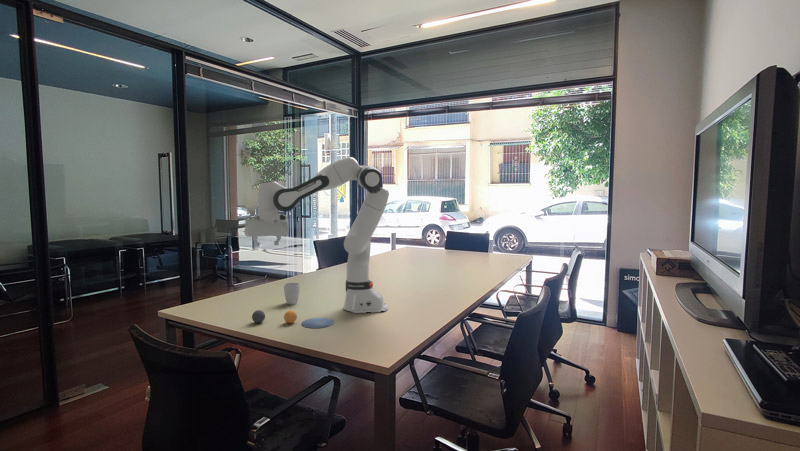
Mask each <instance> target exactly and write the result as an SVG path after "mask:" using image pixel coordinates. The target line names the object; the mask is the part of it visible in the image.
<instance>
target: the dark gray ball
mask: <svg viewBox="0 0 800 451" xmlns="http://www.w3.org/2000/svg"><path fill="white" fill-rule="evenodd" d="M251 319H252V321H253V322H254V323H255V324H256V323H257V324H260V323H263V321H265V319H266V314H265V312H264V311H263V310H261V309H260V310H259V309H258V310H256V311H254V312H253V313H252V315H251Z"/></svg>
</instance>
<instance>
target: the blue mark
mask: <svg viewBox="0 0 800 451" xmlns="http://www.w3.org/2000/svg"><path fill="white" fill-rule="evenodd" d="M334 323H335V322H334V320H333V319H331V318H327V317H313V318H308V319H305V320H303V321H301V323H300V324H301V326H302V327H304V328H307V329H323V328H327V327H328V328H329V327H331V326H333V324H334Z"/></svg>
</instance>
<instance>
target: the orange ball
mask: <svg viewBox="0 0 800 451" xmlns="http://www.w3.org/2000/svg"><path fill="white" fill-rule="evenodd" d="M297 317H298V315H297V312H296V311H294V310H288V311H286V312H285V314H284V316H283V320H284V321H285V323H288V324H293V323H294V322H296V321H297V319H298V318H297Z"/></svg>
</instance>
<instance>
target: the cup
mask: <svg viewBox="0 0 800 451" xmlns="http://www.w3.org/2000/svg"><path fill="white" fill-rule="evenodd" d="M300 288H301V284H300V283H299V282H287V283H284V284H283V290H284V293H283V294H284V298H285V301H286V304H287V305H297V304H298V301H299V296H300V290H301V289H300Z"/></svg>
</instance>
